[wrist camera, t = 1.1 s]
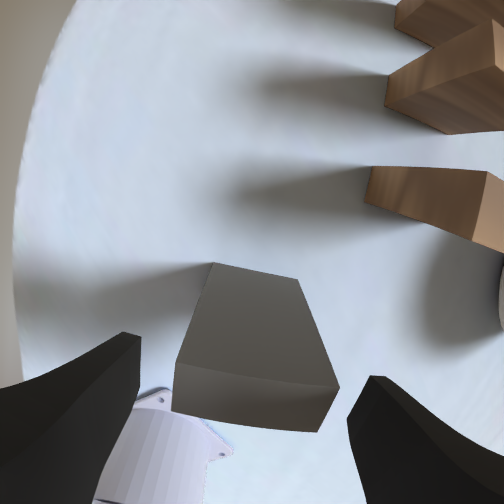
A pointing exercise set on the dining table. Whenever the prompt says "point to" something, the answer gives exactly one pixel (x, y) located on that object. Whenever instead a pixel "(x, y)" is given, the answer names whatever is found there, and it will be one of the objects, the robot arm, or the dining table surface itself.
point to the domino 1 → (254, 355)
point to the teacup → (501, 299)
